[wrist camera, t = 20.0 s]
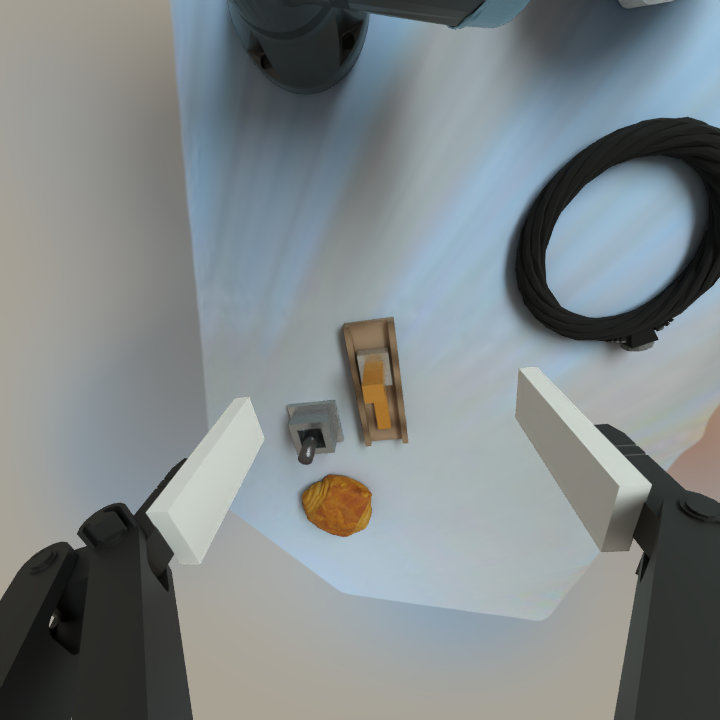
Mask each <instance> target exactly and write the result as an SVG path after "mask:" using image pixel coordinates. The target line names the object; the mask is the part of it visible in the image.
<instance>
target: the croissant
mask: <svg viewBox="0 0 720 720" xmlns="http://www.w3.org/2000/svg"><path fill="white" fill-rule="evenodd" d="M371 496H372V494H371V492H370V491H369V489H368V488H367V487H366V486H364V485H363V484H362V483H360V482H358V481H356V480H354V479H351V478H348V477H345V476H338V475H328V476H327V477H326V476H325V478H324V479H323V482H320V481H319V482H317V483H316V484H313V485H312V486H310V487H309V490H306V491H305V492H304V493H303V495H302V504H303V507H304V511H305V513H306V515H307V519H308V520H309V521H310V522H312V523H313V524H314V525H316V526H317V527H318V528H320V529H322V530H324V531H326V532H328V533H330V534H333V535H337V536H342V537H347V536H349V535H352V534H353V533H356V532H359V531H360V530H363V529H365V528H366V526H367V525H368V523H369V520H370V517H371V513H372V508H371Z"/></svg>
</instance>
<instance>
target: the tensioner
mask: <svg viewBox="0 0 720 720" xmlns="http://www.w3.org/2000/svg"><path fill="white" fill-rule="evenodd" d="M357 360H358V365H359V371H360V376H361V382H362V390H363V395H364V401H365V404H367V403H374V407H375V413H376V419H377V425H378V429H389V428H391V422H390V415H389V408H388V401H387V394H386V387H385V386H387V385H392V376H391V368H390V360H389V353H388V347H386V348H378V349H370V350H361V351H358V352H357Z"/></svg>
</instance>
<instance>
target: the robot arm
mask: <svg viewBox="0 0 720 720" xmlns="http://www.w3.org/2000/svg"><path fill="white" fill-rule="evenodd" d="M227 2H228V6H229V11H230V15H231V18H232V22H233V25H234V27H235V30H236V33H237V35H238V37H239V39H240V41H241V43H242V45H243V47H244V49H245V50H246V52H247V54H248V55H249V57H250V58H251V59H252V61H253V62H254V63H255V64H256V66H257V67H258V68H259V69H260V70H261V71H262V72H263V74H264V75H265V76H266V77H267V78H269V79H270V80H271V81H272V82H273V83H275V84H276V85H278V86H279V87H281V88H283V89H285V90H288V91H291V92H294V93H299V94H313V93H318V92H321V91H324V90H326V89H328V88H330V87H332V86H333V85H335V84H336V83H338V82H339V81H340V80H341V79H342V78H343V77H344V76H345V75H346V74H347V73H348V72H349V70H350V69H351V67H352V66H353V65H354V63H355V61H356V59H357V58H358V56H359V53H360V51H361V49H362V46H363V44H364V40H365V37H366V33H367V29H368V23H369V15H370V14H377V15H384V16H390V17H397V18H403V19H410V20H417V21H423V22H430V23H436V24H443V25H447V26H448V27H449V28H451V29H455V30H456V29H457V28H458V29H462V28H464V27H466V26H468V27H481V28H495V27H498V26H501V25H504V24H505V23H508V22H509V21H511V20H512V19H513V18H514V17H516V16H517V15H518V14H519V13H520V12H521V11H522V10H523V9H524V8H525V7H526V5H527V4H528V3H529V2H530V0H227ZM515 418H516V419H517V421H518V422H519V424H520V426H521V427H522V429H523V430H524V432H525V433H526V435H527V437H528V438H529V440H530V441H531V443H532V444H533V446H534V448H535V449H536V451H537V452H538V454H539V455H540V457H541V459H542V460H543V462H544V463H545V465H546V466H547V468H548V470H549V471H550V473H551V474H552V476H553V477H554V479H555V481H556V482H557V484H558V485H559V487H560V488H561V490H562V492H563V493H564V495H565V496H566V498H567V499H568V501H569V503H570V504H571V506H572V507H573V509H574V510H575V512H576V514H577V515H578V517H579V518H580V520H581V521H582V523H583V524H584V526H585V528H586V529H587V531H588V532H589V534H590V535H591V537H592V539H593V540H594V542H595V543H596V545H597V546H598V548H599V550H600V551H601V552H614V551H629V549H630V546H631V544H632V541H633V538H634V539H635V540H636V541H637V543H638V544H639V545H640V547H641V548H642V550H643V551H644V552H643V555H642V557H641V560H640V563H639V565H638V568H637V570H636V574H637V575H638V581H637V586H636V592H635V598H634V604H633V610H632V616H631V622H630V628H629V633H628V639H627V646H626V651H625V657H624V663H623V669H622V674H621V680H620V687H619V693H618V698H617V704H616V710H615V716H614V720H720V503H718V502H717V501H715V500H714V499H711V498H709V497H707V496H704V495H702V494H699V493H695V492H691V491H687V490H685V489H684V488H683V487H682V486H680V484H678V483H677V482H676V481H675V480H674V479H673V478H672V477H671V476H670V475H669V474H668V473H667V472H666V471H664V470H663V469H662V468H661V467H660V466H659V465H658V464H657V463H656V462H655V461H654V460H653V459H651V458H650V457H649V456H648V455H646V454H645V452H644V451H643V450H642V449H641V448H640V447H639V446H636V444H635V443H634V442H633V441H632V440H631V439H630V438H629V437H628V436H627V435H626V434H625V433H623V432H621V431H620V430H618V429H616V428H614V427H612V426H610V425H609V424H600V425H593V424H592V423H591V422H590V421H589V420H588V419H587V418H586V417H585V416H584V415H583V414H582V413H581V412H580V411H579V410H578V409H577V407H576V406H575V405H574V404H573V403H572V402H571V401H570V400H569V399H568V398H567V397H566V396H565V395H564V394H563V393H562V392H561V391H560V390H559V389H558V388H557V387H556V386H555V385H554V384H553V383H552V382H551V381H550V380H549V379H548V378H547V377H546V376H545V375H544V374H543V373H542V372H541V371H540V370H539V369H538V368H537V367H528V368H519V373H518V387H517V401H516V414H515ZM264 439H265V438H264V436H263V433H262V430H261V428H260V425H259V422H258V420H257V417H256V414H255V412H254V409H253V406H252V404H251V401H250V398H249V397H242V398H235V399H234V400H233V401H232V403H231V404H230V405H229V407H228V408H227V409H226V410H225V412H224V413H223V414H222V416H221V417H220V418H219V419H218V421H217V422H216V423H215V425H214V426H213V427H212V428H211V430H210V431H209V432H208V434H207V435H206V436H205V437H204V439H203V440H202V441H201V443H200V444H199V445H198V447H197V448H196V449H195V450H194V451H193V453H192V454H191V455H190V457H189V458H184V459H183V460H182V461H181V462H179V463H178V464H177V465H176V466H174V467H173V468H172V469H171V470H170V472H169V473H168V474H167V475H166V477H165V478H164V480H162V482H161V483H160V484H159V485H158V486H157V487H158V488H157V489H155V490H154V492H153V493H152V494H151V495H150V496H149V498H148V499H147V500H146V501H145V502H144V504H143V505H142V506H141V507H140V509H139V510H138V511H137V512H136V514H135V515H134V516H133V515H132V513H131V512H130V510H129V509H128V507H127V506H126V505H125V504H123V503H116V504H111V505H109V506H106V507H104V508H102V509H100V510H99V511H97V512H95V513H94V514H93V515H92V516H91V517H89V518H88V519H87V520H86V521H85V522H84V523H83V524H82V526H81V527H80V528H79V531H78V533H77V535H78V536H79V537H80V538H81V539H82V540H83V541H84V543H85V544H86V545H87V546H86V547H83V548H79V549H76V550H74V549H73V548H72V547H71V546H70V545H69V544H68V543H67V542H59V543H55V544H52V545H50V546H48V547H46V548H44V549H42V550H41V551H39V552H38V553H36V554H35V555H34V556H32V557H31V558H30V559H29V560H28V561H27V562H26V563H25V564H24V565H23V566H22V567H21V569H20V570H19V571H18V573H17V574H16V576H15V578H14V579H13V581H12V582H11V584H10V586H9V587H8V589H7V591H6V592H5V594H4V595H3V597H2V599H1V600H0V720H71V718H72V720H193V716H192V710H191V703H190V695H189V688H188V682H187V675H186V667H185V661H184V654H183V647H182V640H181V633H180V626H179V620H178V612H177V605H176V598H175V591H174V585H173V578H172V571H171V569H170V567H169V565H168V563H169V562H170V560H171V558H172V557H173V555H175V557H176V558H177V560H178V561H179V563H180V564H181V565H184V564H185V565H186V564H187V565H188V564H201V562H202V560H203V558H204V556H205V554H206V552H207V550H208V548H209V546H210V544H211V542H212V540H213V539H214V537H215V535H216V533H217V531H218V529H219V527H220V525H221V523H222V521H223V519H224V517H225V515H226V513H227V511H228V509H229V507H230V505H231V504H232V502H233V500H234V498H235V496H236V494H237V492H238V490H239V488H240V486H241V484H242V482H243V480H244V478H245V476H246V474H247V472H248V470H249V468H250V466H251V465H252V463H253V461H254V459H255V457H256V455H257V453H258V451H259V449H260V447H261V445H262V443H263V441H264ZM51 616H53V617H54V620H53V622H52V624H51V626H50V627H49V623H50V619H51Z"/></svg>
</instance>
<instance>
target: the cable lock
mask: <svg viewBox="0 0 720 720" xmlns="http://www.w3.org/2000/svg"><path fill="white" fill-rule="evenodd" d="M652 155H664V156H668V157H672V158H677V159H681V160H683V161H684V162H686V163H687V164H689V165H690V166H691V167H693V168H694V169H695V170H696V171H697V172H698V173H699V174H700V176H701V178H702V180H703V182H704V184H705V186H706V189H707V192H708V195H709V221H708V229H707V231H706V233H705V236H704V238H703V240H702V243H701V245H700V247H699V250H698V252H697V254H696V257H695V258H694V260H693V261H692V262H691V264H690V265H689V266H688V267H687V268H686V270H685V271H684V272H683V273H682V274H681V276H680V277H679V278H678V279H677V280H676V281H675V282H674V283H673V284H672V285H671V286H670V287H669V288H668V289H666V290H665V291H664V292H662V293H661V294H660V295H658V296H657V297H655V298H654V299H653V300H651V301H649V302H648V303H646V304H644V305H643V306H641V307H639V308H638V309H636V310H633V311H630V312H627V313H623V314H619V315H616V316H609V317H602V318H589V317H585V316H582V315H578V314H575V313H572V312H570V311H568V310H566V309H564V308H563V307H561V306H560V304H559V303H558V301H557V300H556V298H555V297H554V295H553V294H552V293H551V291H550V290H549V288H548V286H547V283H546V270H545V253H546V249H547V246H548V243H549V240H550V237H551V234H552V231H553V228H554V226H555V224H556V221H557V219H558V217H559V215H560V214H561V212H562V211H563V210H564V208H565V207H566V206H567V205H568V204H569V203H570V202H571V200H572V199H573V198H574V197H575V196H576V195H577V194H578V192H579V191H580V190H581V189H582V188H583V187H584V186H585V185H586V184H587V183H589V182H590V181H591V180H593V179H594V178H596V177H597V176H598V175H600V174H601V173H603V172H604V171H605V170H607V169H608V168H610V167H612V166H614V165H617V164H619V163H622V162H625V161H627V160H630V159H633V158H637V157H645V156H652ZM515 271H516V278H517V284H518V289H519V291H520V293H521V295H522V298H523V301H524V304H525V305H526V306H527V308H528V309H529V310H530V311H531V313H532V314H533V315H534V317H535V318H536V319H537V320H539V321H540V322H541V323H542V324H544V325H545V326H546V327H547V328H549V329H551V330H553V331H554V332H556V333H558V334H560V335H562V336H564V337H568V338H572V339H575V340H598V341H606V342H614V343H622V345H621V347H622V348H623V349H624V350H627V351H643V350H647V349H649V348H651V347H652V346H653V344H654V342H653V341H656V340H659V339H658V337H657V335H656V333H655V331H654V330H656V331H660V330H662V329H663V328H664V326H668V325H669V324H670V323H669V322H672V321H673V319H672V318H674V317H676V316H677V315H679V314H681V313H682V312H683V311H684V310H685V309H687V308H688V307H689V306H690V305H691V304H692V303H693V302H694V301H695V300H697V299H698V298H699V297H700V296H701V295H702V294H704V293H705V292H706V291H707V290H708V289H710V288H711V287H712V286H713V285H714V284H715V282H716V281H717V280H718V279H719V277H720V129H719V128H716V127H713V126H710V125H708V124H707V123H705V122H703V121H700V120H696V119H693V118H689V117H684V118H657V119H651V120H645V121H641V122H639V123H637V124H633V125H630V126H627V127H624V128H621V129H618V130H616V131H614V132H612V133H610V134H609V135H607V136H605V137H603V138H601V139H599V140H597V141H596V142H595V143H593V144H591V145H590V146H588V147H587V148H586V149H584V150H583V151H581V152H580V153H579V154H577V155H576V156H575V157H574V158H573V159H572V160H571V161H569V162H568V163H567V164H566V165H565V166H564V167H563V168H562V169H561V170H560V171H559V172H558V173H557V174H556V175H555V176H554V177H553V179H552V180H551V181H550V182H549V183H548V185H547V186H546V187H545V188H544V189H543V191H542V192H541V194H540V196H539V197H538V199H537V200H536V202H535V203H534V205H533V207H532V208H531V211H530V213H529V215H528V217H527V220H526V222H525V224H524V226H523V229H522V232H521V236H520V241H519V245H518V249H517V256H516V267H515ZM667 321H669V322H667Z"/></svg>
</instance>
